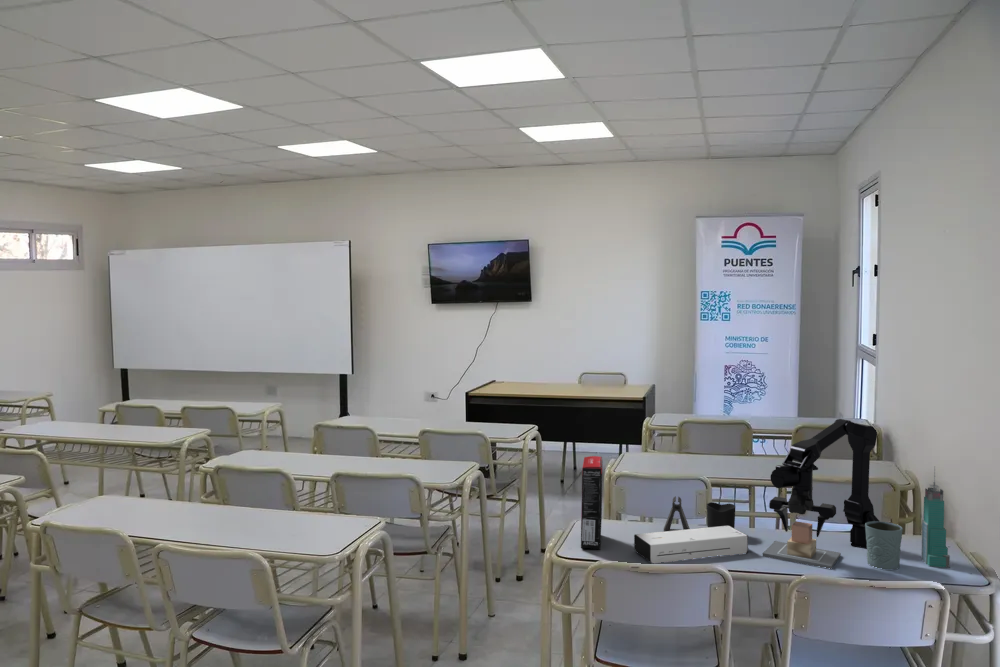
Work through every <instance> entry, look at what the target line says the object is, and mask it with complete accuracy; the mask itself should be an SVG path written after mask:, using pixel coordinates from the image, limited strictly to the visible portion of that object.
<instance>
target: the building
mask: <svg viewBox="0 0 1000 667" xmlns="http://www.w3.org/2000/svg"><path fill="white" fill-rule="evenodd" d="M924 490H925V492H924V496H923V519H922V521H921V561H923V562H924V563H925V565H927V566H928V567H936V568H950V564H951V563H950V561H951V560H950V557H951V556H950V555H949V548H948V547H947V529H946V528H945V527H944V526H945V524H944V523H945V500H944V490H943V489H942V488H940V486H939V485H937V484H936V467H934V472H933V484H929V487H927V488H926V487H925V489H924Z"/></svg>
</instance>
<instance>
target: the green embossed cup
mask: <svg viewBox="0 0 1000 667" xmlns="http://www.w3.org/2000/svg"><path fill="white" fill-rule="evenodd" d="M865 530H866V540H867V548H866V551H867V552H866V559H867V560H866V561H867V564H868V565H869V564H870V565H871V566H870V565H869V566H870V567H872V566H874V567H873V568H875V567H877V568H876V569H878V568H882V569H881V570H883V569H896V570H898V569H899V568H900V563H901V546H902V536H903V527H902V526H901V525H899V524H897V523H892V522H888V521H880V520H879V521H871V522H867V523H865ZM897 568H898V569H897Z"/></svg>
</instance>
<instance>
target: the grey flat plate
mask: <svg viewBox="0 0 1000 667" xmlns="http://www.w3.org/2000/svg"><path fill="white" fill-rule="evenodd" d="M764 556H765V557H764ZM841 556H842V552H839V551H838V552H837V551H832V550H829V549H823V548H817V547H816V553H815V554H814V555H813V556H812V558H806V557H801V556H796V555H790V554H787V542H782V541H777V540H775V541H773V542H772V543H771V544H770V545H769V546H768V547H767V548H766V549H765V550H764V551H763V552H762V557H764V558H769V557H770V558H771V559H775V560H781V561H785V562H790V561H791V562H792V563H795V562H796V563H797V564H801V563H802V564H801V565H806V564H808V565H807V566H811V565H814V566H813V567H816V566H820V567H819V568H822V567H826V568H825V569H827V568H830V569H829V570H832V569H833V568H832V567H834V566H835V565H836V563H837V562H838V561H839V559H840V558H839V557H841ZM836 561H837V562H836ZM834 564H835V565H834ZM833 565H834V566H833ZM831 568H832V569H831Z"/></svg>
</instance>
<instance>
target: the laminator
mask: <svg viewBox="0 0 1000 667" xmlns="http://www.w3.org/2000/svg"><path fill="white" fill-rule="evenodd" d="M633 546H634V547H633V549H634V552H636V553H637V552H638V554H639V555H640V556H641V555H642V558H644V559H645V560H647V561H648V562H649V563H650V564H651V563H654V564H662V563H661V562H664V563H673V562H679V561H678V560H682V561H685V560H684V559H692V560H694V559H693V558H701V559H703V558H702V557H708V556H717V555H718V556H720V555H730V556H735V555H734V554H739V555H744V554H743V553H746V554H747V553H748V552H749V535H748V534H746V533H743V532H742V531H740V530H739V529H737V528H735V527H734V528H733V527H731V526H719V527H700V528H690V529H687V530H683V529H680V530H676V531H665V532H664V531H654V532H645V533H636V534H635V533H634V535H633ZM720 557H721V556H720ZM672 561H673V562H672Z"/></svg>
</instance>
